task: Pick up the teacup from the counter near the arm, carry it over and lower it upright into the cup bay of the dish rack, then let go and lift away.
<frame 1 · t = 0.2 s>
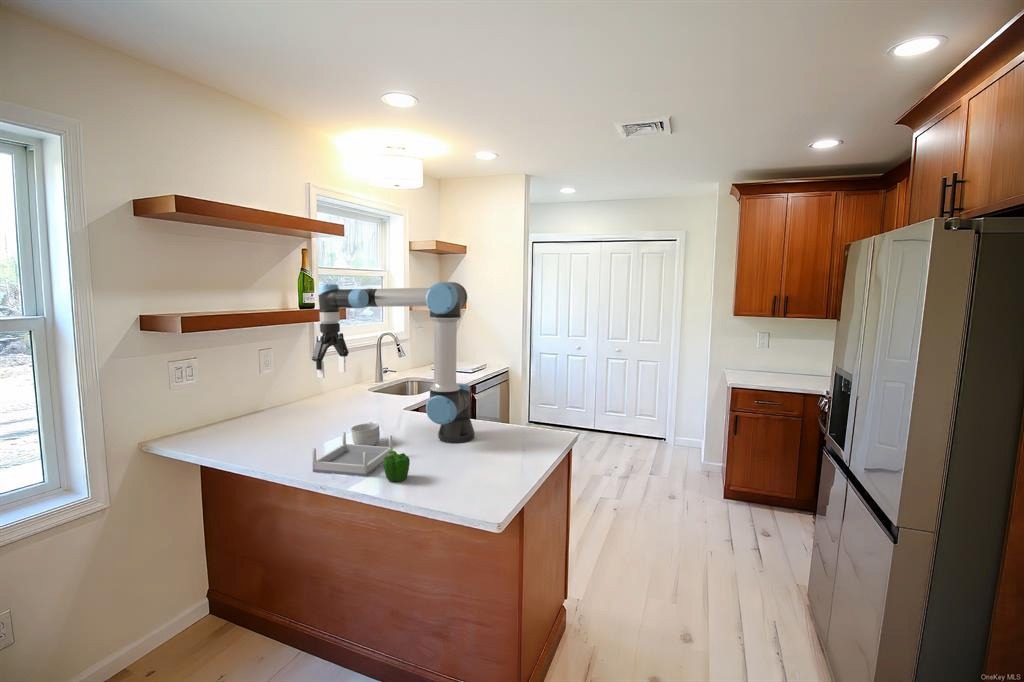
hand: (331, 374, 202), 27 cm above the counter, tool pointing down, fingers open, 13 cm apart
teacup: (367, 445, 199), on the counter
dish rack: (354, 463, 178), on the counter
bell pepper: (397, 479, 164), on the counter
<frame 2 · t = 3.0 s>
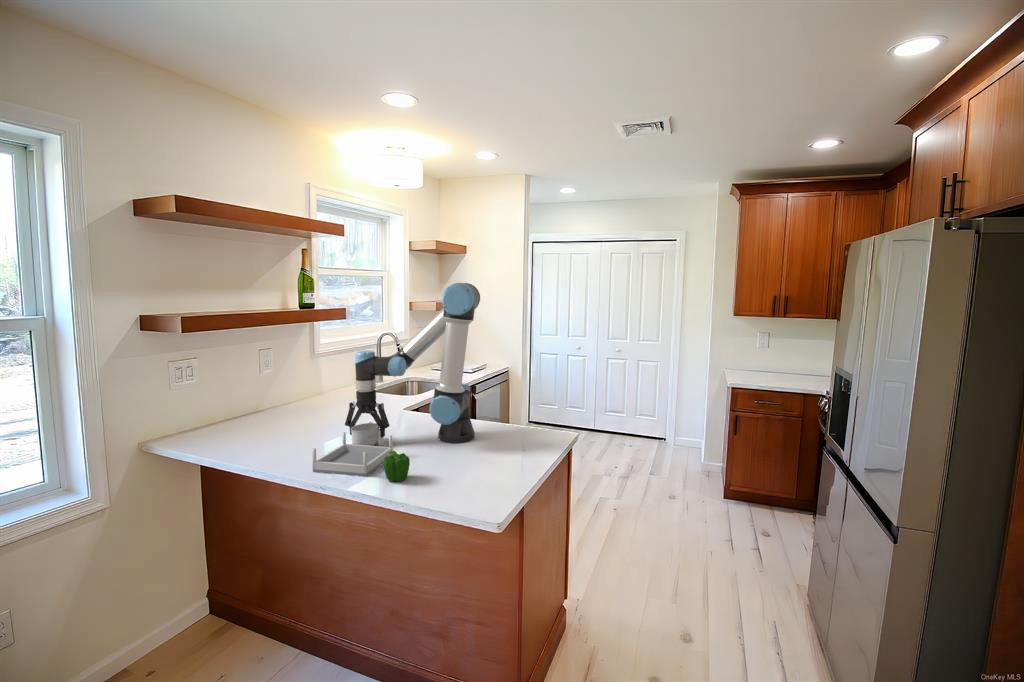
hand: (367, 443, 199), 0 cm above the counter, tool pointing down, fingers closed on teacup, 11 cm apart
teacup: (367, 445, 199), on the counter, touching gripper
everything else where it was.
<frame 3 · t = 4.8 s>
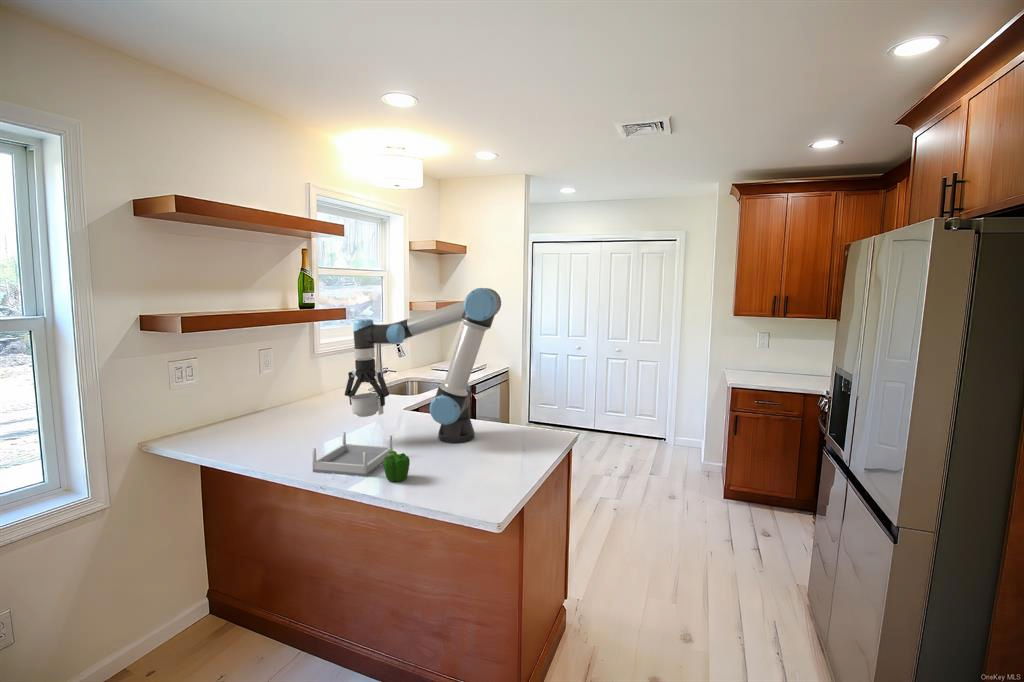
hand: (367, 413, 198), 13 cm above the counter, tool pointing down, fingers closed on teacup, 11 cm apart
teacup: (367, 414, 198), point 12 cm above the counter, touching gripper
everything else where it was.
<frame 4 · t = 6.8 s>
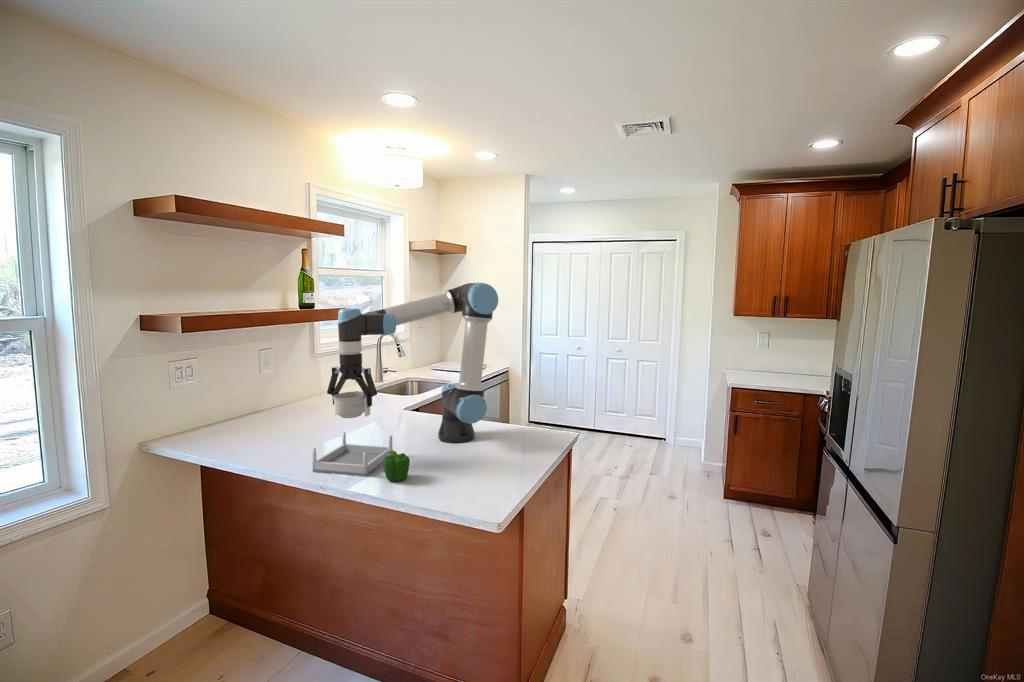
hand: (352, 414, 176), 18 cm above the counter, tool pointing down, fingers closed on teacup, 11 cm apart
teacup: (352, 415, 176), point 18 cm above the counter, touching gripper
everything else where it was.
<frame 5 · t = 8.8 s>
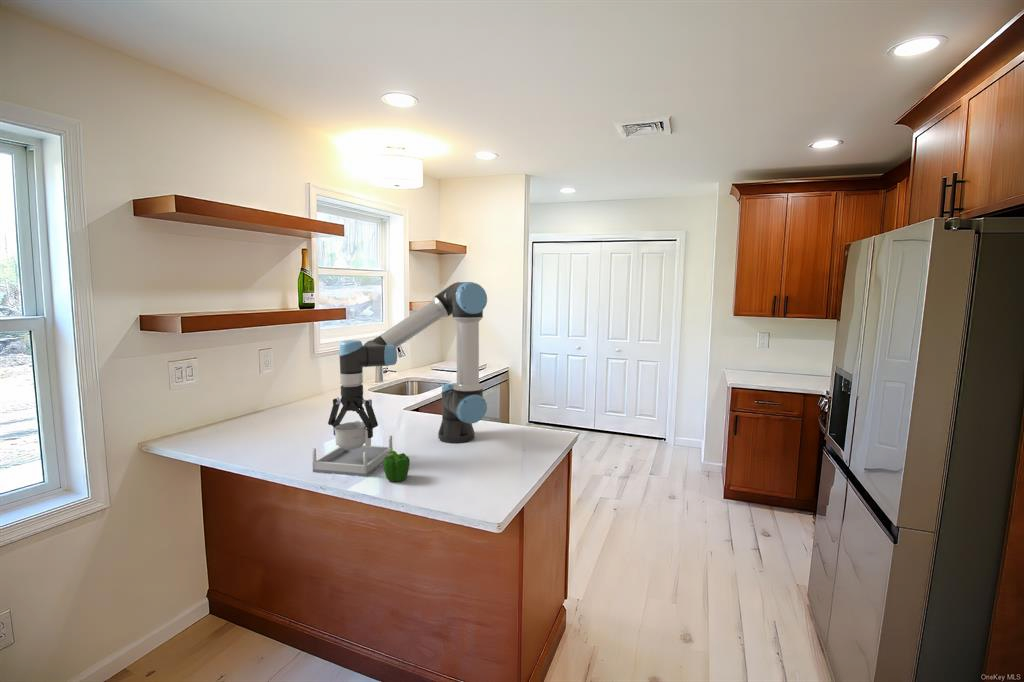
hand: (353, 445, 177), 7 cm above the counter, tool pointing down, fingers closed on teacup, 11 cm apart
teacup: (353, 446, 177), point 6 cm above the counter, touching gripper
everything else where it was.
when the fingers open (3 cm above the counter, at t = 10.3 s): teacup drops 1 cm, resting on dish rack.
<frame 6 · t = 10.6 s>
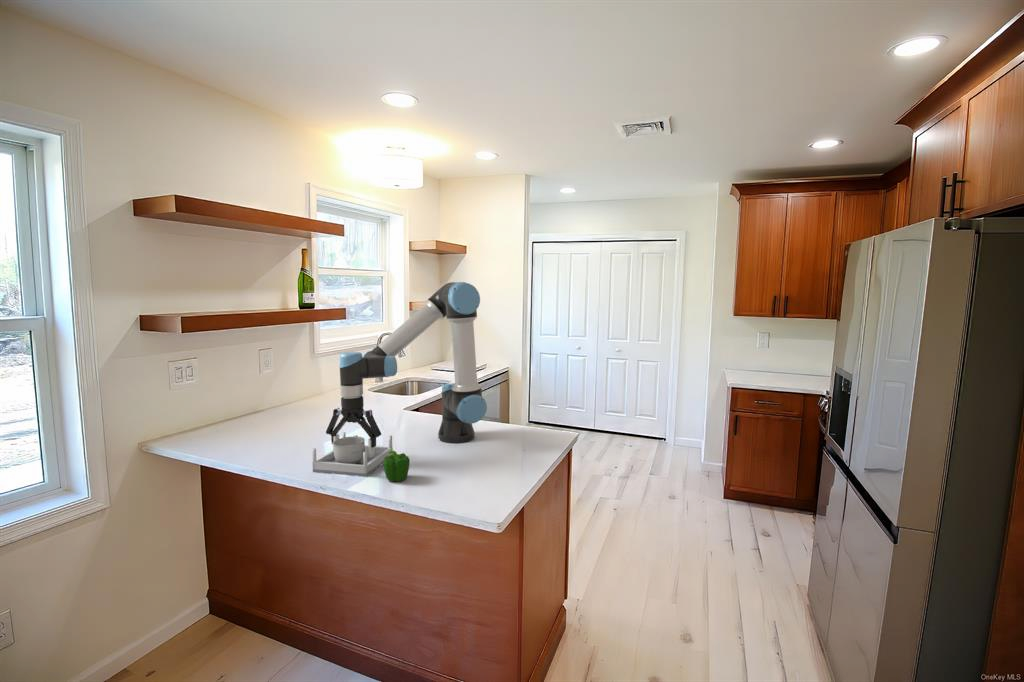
hand: (354, 454, 177), 3 cm above the counter, tool pointing down, fingers open, 13 cm apart
teacup: (351, 461, 178), point 1 cm above the counter, touching dish rack, gripper
everything else where it was.
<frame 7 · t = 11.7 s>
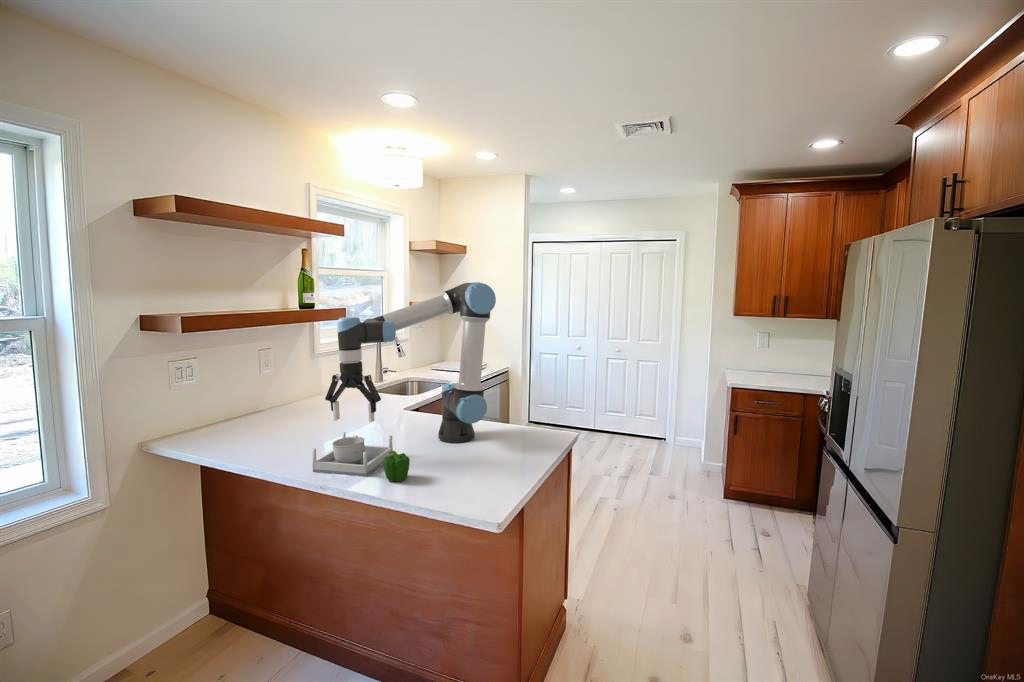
hand: (354, 420, 176), 16 cm above the counter, tool pointing down, fingers open, 13 cm apart
teacup: (351, 461, 178), point 1 cm above the counter, touching dish rack
everything else where it was.
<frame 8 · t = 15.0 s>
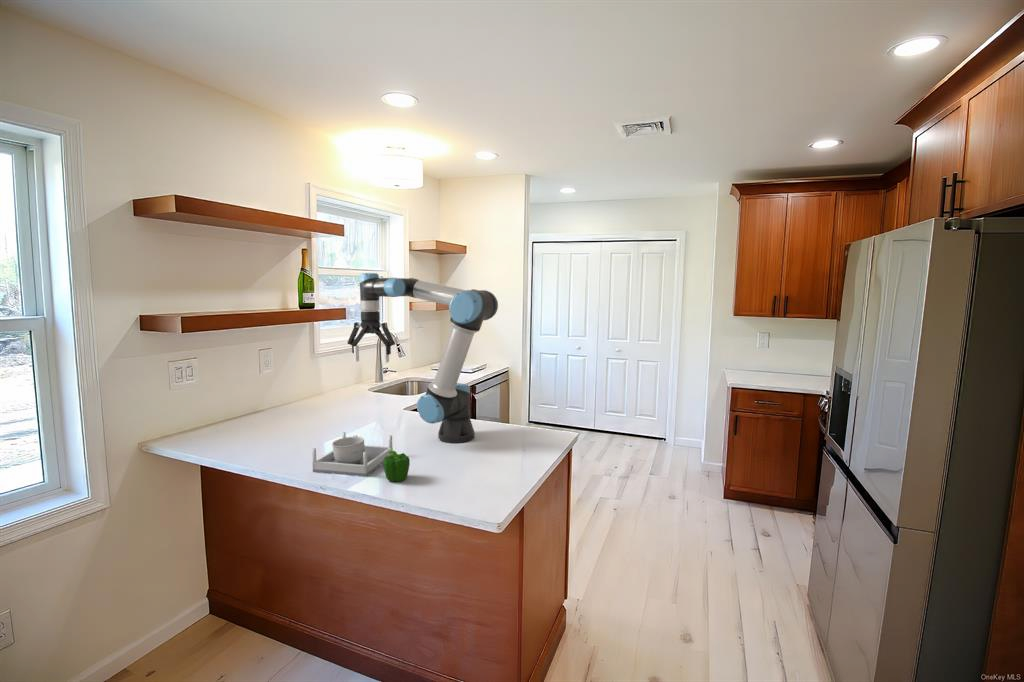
hand: (371, 361, 207), 32 cm above the counter, tool pointing down, fingers open, 13 cm apart
nothing on the counter moved.
at the end: teacup inside the target area on the dish rack (1.2 cm from its centre), point 0.8 cm above the dish rack's base; teacup tilted 0°; the gripper is holding nothing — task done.
